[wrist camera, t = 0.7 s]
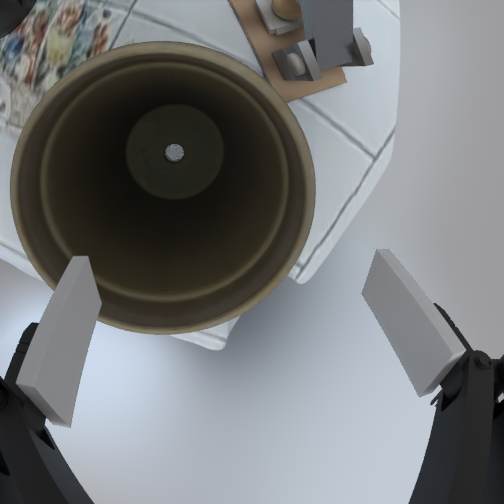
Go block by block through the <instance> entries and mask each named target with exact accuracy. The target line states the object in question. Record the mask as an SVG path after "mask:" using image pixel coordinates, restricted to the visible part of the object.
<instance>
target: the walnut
mask: <svg viewBox="0 0 504 504" xmlns="http://www.w3.org/2000/svg"><path fill="white" fill-rule="evenodd" d="M272 7H273V10H274V12H275V13H276V14H277V15H278V16H280V17H281V18H283V19H287V20H296V19H299V18H301V17H302V11H301V5H300V4H299V3H298V2H296V1H295V0H273V1H272Z"/></svg>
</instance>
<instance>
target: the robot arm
mask: <svg viewBox="0 0 504 504" xmlns="http://www.w3.org/2000/svg"><path fill="white" fill-rule="evenodd" d="M35 1H36V0H0V39H1V38H3V37H4V36H6V35H7V34H9V33H10V32H11V31H13V30H14V29H15V28H16V27H17V26H18V25H19V24H20V23H21V22H22V21H23V19H24V18H25V17H26V16H27V14H28V13H29V11H30V10H31V8H32V7H33V5H34V3H35ZM362 295H363V297H364V299H365V300H366V302H367V304H368V305H369V307H370V309H371V310H372V312H373V313H374V315H375V317H376V319H377V320H378V322H379V324H380V326H381V327H382V329H383V331H384V333H385V335H386V336H387V338H388V340H389V342H390V343H391V345H392V347H393V349H394V351H395V352H396V354H397V356H398V358H399V360H400V362H401V363H402V365H403V367H404V369H405V371H406V373H407V375H408V377H409V378H410V381H411V382H412V384H413V386H414V388H415V390H416V392H417V394H418V396H419V397H421V396H424V395H427V394H429V393H432V392H433V391H434V390H435V389H436V388H437V386H438V385H439V384H440V385H441V387H442V390H441V391H440V392H439V393H438V394H437V396H436V397H435V398H434V399H433V400H432V401H431V405H433V404H434V403H435V401H436V400H437V399H438V401H437V404H436V405H435V406H436V412H435V416H434V421H433V426H432V430H431V434H430V438H429V442H428V446H427V449H426V453H425V456H424V460H423V463H422V467H421V470H420V473H419V476H418V479H417V482H416V485H415V488H414V490H413V493H412V496H411V498H410V501H409V504H504V399H503V400H502V401H501V402H500V403H499V401H498V397H499V396H500V395H501V394H502V393H504V355H503V356H502V357H501V359H490V357H489V356H488V355H487V354H486V353H484V352H482V351H478V350H476V351H473V349H472V348H471V346H470V345H469V344H468V342H467V341H466V339H465V338H464V336H463V335H462V334H461V332H460V331H459V329H458V328H457V327H455V324H454V323H453V321H452V320H450V317H449V316H448V314H447V313H446V312H445V310H443V309H442V308H441V307H440V306H438V305H437V304H436V303H432V301H431V300H430V299H429V298H428V296H427V295H426V294H425V292H424V291H423V290H422V289H421V287H420V286H419V285H418V283H417V282H416V281H415V280H414V279H413V277H412V276H411V275H410V274H409V272H408V271H407V270H406V269H405V267H404V266H403V265H402V264H401V263H400V261H399V260H398V259H397V258H396V257H395V256H394V254H393V253H392V252H391V251H390V250H389V249H376V252H375V255H374V258H373V261H372V265H371V268H370V270H369V273H368V276H367V280H366V282H365V285H364V288H363V291H362ZM101 305H102V302H101V299H100V296H99V293H98V290H97V286H96V283H95V280H94V276H93V273H92V269H91V265H90V262H89V258H88V256H73V257H72V259H71V261H70V263H69V265H68V266H67V268H66V270H65V272H64V274H63V276H62V277H61V279H60V281H59V283H58V285H57V287H56V289H55V291H54V293H53V295H52V297H51V299H50V301H49V303H48V305H47V307H46V310H45V312H44V314H43V316H42V318H41V320H40V322H39V323H33V322H32V323H31V324H30V325H29V326H28V327H27V328H26V329H25V331H24V332H23V334H22V336H21V338H20V341H19V344H18V346H17V348H16V352H15V353H14V355H13V357H12V360H11V363H10V365H9V368H8V370H7V373H6V376H5V379H4V380H3V379H2V378H1V376H0V504H94V503H93V501H92V500H91V499H90V497H89V496H88V495H87V493H86V492H85V490H84V489H83V487H82V486H81V485H80V483H79V481H78V480H77V478H76V477H75V475H74V474H73V473H72V471H71V469H70V468H69V466H68V464H67V463H66V461H65V459H64V458H63V456H62V454H61V452H60V451H59V449H58V447H57V445H56V444H55V442H54V440H53V438H52V436H51V434H50V432H49V430H48V429H47V427H46V426H45V420H46V418H47V419H48V420H49V421H50V422H51V423H52V424H54V425H58V426H63V427H69V428H71V422H72V417H73V412H74V407H75V401H76V397H77V392H78V388H79V384H80V379H81V375H82V371H83V367H84V363H85V359H86V355H87V352H88V348H89V344H90V340H91V337H92V334H93V330H94V327H95V324H96V321H97V317H98V314H99V311H100V308H101Z"/></svg>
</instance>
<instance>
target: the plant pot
mask: <svg viewBox="0 0 504 504" xmlns="http://www.w3.org/2000/svg"><path fill="white" fill-rule="evenodd" d="M170 144H178V145H180V146H181V147H182V148H183V150H184V156H183V158H182V159H181V160H180V161H178V162H170V161H168V160H167V159H166V157H165V155H164V150H165V148H166V147H167V146H168V145H170ZM315 195H316V184H315V172H314V166H313V161H312V156H311V152H310V149H309V146H308V143H307V140H306V138H305V135H304V133H303V131H302V129H301V127H300V125H299V123H298V121H297V119H296V117H295V115H294V114H293V112H292V111H291V109H290V108H289V106H288V105H287V103H286V102H285V101H284V99H283V98H282V97H281V96H280V94H279V93H278V92H277V91H276V90H275V89H274V88H273V87H272V86H271V85H270V84H269V83H268V82H267V81H266V80H265V79H264V78H263V77H261V76H260V75H259V74H258V73H256V72H255V71H254V70H252V69H251V68H249V67H248V66H246V65H245V64H243V63H242V62H240V61H238V60H236V59H234V58H232V57H230V56H228V55H226V54H224V53H221V52H218V51H216V50H213V49H210V48H207V47H203V46H199V45H195V44H189V43H182V42H171V41H154V42H142V43H134V44H130V45H125V46H121V47H118V48H115V49H112V50H109V51H106V52H104V53H101V54H99V55H97V56H95V57H93V58H91V59H89V60H87V61H85V62H84V63H82V64H80V65H79V66H77V67H76V68H74V69H73V70H71V71H70V72H69V73H67V74H66V75H65V76H64V77H62V78H61V79H60V80H59V81H58V82H56V83H55V84H54V85H53V86H52V88H51V89H50V90H49V91H48V92H47V93H46V94H45V95H44V96H43V98H42V99H41V101H40V102H39V103H38V104H37V106H36V107H35V108H34V110H33V112H32V113H31V115H30V117H29V118H28V120H27V122H26V124H25V126H24V128H23V130H22V132H21V135H20V137H19V140H18V143H17V146H16V149H15V153H14V157H13V162H12V168H11V177H10V199H11V208H12V214H13V219H14V223H15V227H16V230H17V233H18V236H19V239H20V242H21V244H22V246H23V249H24V251H25V253H26V255H27V257H28V259H29V260H30V262H31V264H32V265H33V267H34V268H35V270H36V271H37V272H38V274H39V275H40V276H41V277H42V279H43V280H44V281H45V282H46V283H47V284H48V286H49V287H50V288H51V289H53V290H54V291H55V289H56V287H57V285H58V283H59V281H60V279H61V277H62V276H63V274H64V272H65V270H66V268H67V266H68V265H69V263H70V261H71V259H72V257H73V256H88V258H89V262H90V265H91V269H92V273H93V276H94V280H95V283H96V286H97V290H98V293H99V296H100V299H101V302H102V305H101V308H100V311H99V314H98V317H97V321H100V322H102V323H104V324H107V325H110V326H113V327H116V328H119V329H123V330H126V331H132V332H138V333H144V334H155V335H165V334H166V335H170V334H181V333H190V332H195V331H199V330H203V329H207V328H211V327H214V326H216V325H219V324H222V323H224V322H227V321H229V320H231V319H233V318H235V317H237V316H239V315H241V314H242V313H244V312H245V311H247V310H249V309H250V308H251V307H253V306H255V305H256V304H257V303H259V302H260V301H261V300H263V299H264V298H265V297H266V296H267V295H269V293H271V292H272V291H273V290H274V289H275V288H276V287H277V286H278V285H279V284H280V283H281V282H282V280H283V279H284V278H285V277H286V275H287V274H288V273H289V272H290V270H291V269H292V267H293V266H294V264H295V263H296V261H297V260H298V258H299V256H300V254H301V252H302V250H303V248H304V246H305V243H306V241H307V238H308V236H309V232H310V229H311V225H312V221H313V215H314V208H315Z"/></svg>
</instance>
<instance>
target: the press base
mask: <svg viewBox="0 0 504 504" xmlns="http://www.w3.org/2000/svg"><path fill="white" fill-rule="evenodd" d="M228 1H229V3H230V5H231V7H232V9H233V11H234V13H235V15H236V17H237V18H238V20H239V22H240V24H241V26H242V28H243V30H244V32H245V34H246V37H247V39H248V41H249V43H250V45H251V47H252V49H253V51H254V53H255V55H256V58H257V60H258V62H259V64H260V66H261V68H262V71H263V73H264V75H265V77H266V79H267V82H268V83H269V84H270V85H271V86H272V87H273V88H274V89H275V90H276V91H277V92H278V93H279V94H280V96H281V97H282V98H283V99H284V101H285V102H286V103H287V102H290V101H293V100H295V99H298V98H301V97H304V96H307V95H309V94H312V93H315V92H318V91H321V90H324V89H327V88H330V87H334V86H337V85H340V84H343V83H347V81H346V78H345V75H344V73H343V70H342V67H344V66H368V65H372V64H374V63H373V60H372V57H371V46H370V43H369V41H368V40H367V38H366V37H365V36H363V33H362V30H361V28H360V27H359V28H354V29H353V54H352V62H349V63H346V64H342V65H338V66H335V67H331V68H328V69H325V70H321V71H320V68H319V66H318V63H317V61H316V58H315V56H314V54H313V51H312V49H311V46H310V44H309V42H308V40H306V39H305V32H304V25H303V18H302V17H301V18H299V19H296V20H287V19H283V18H281V17H280V16H278V15H277V14H276V13H275V12H274V10H273V7H272V1H273V0H228Z"/></svg>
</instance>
